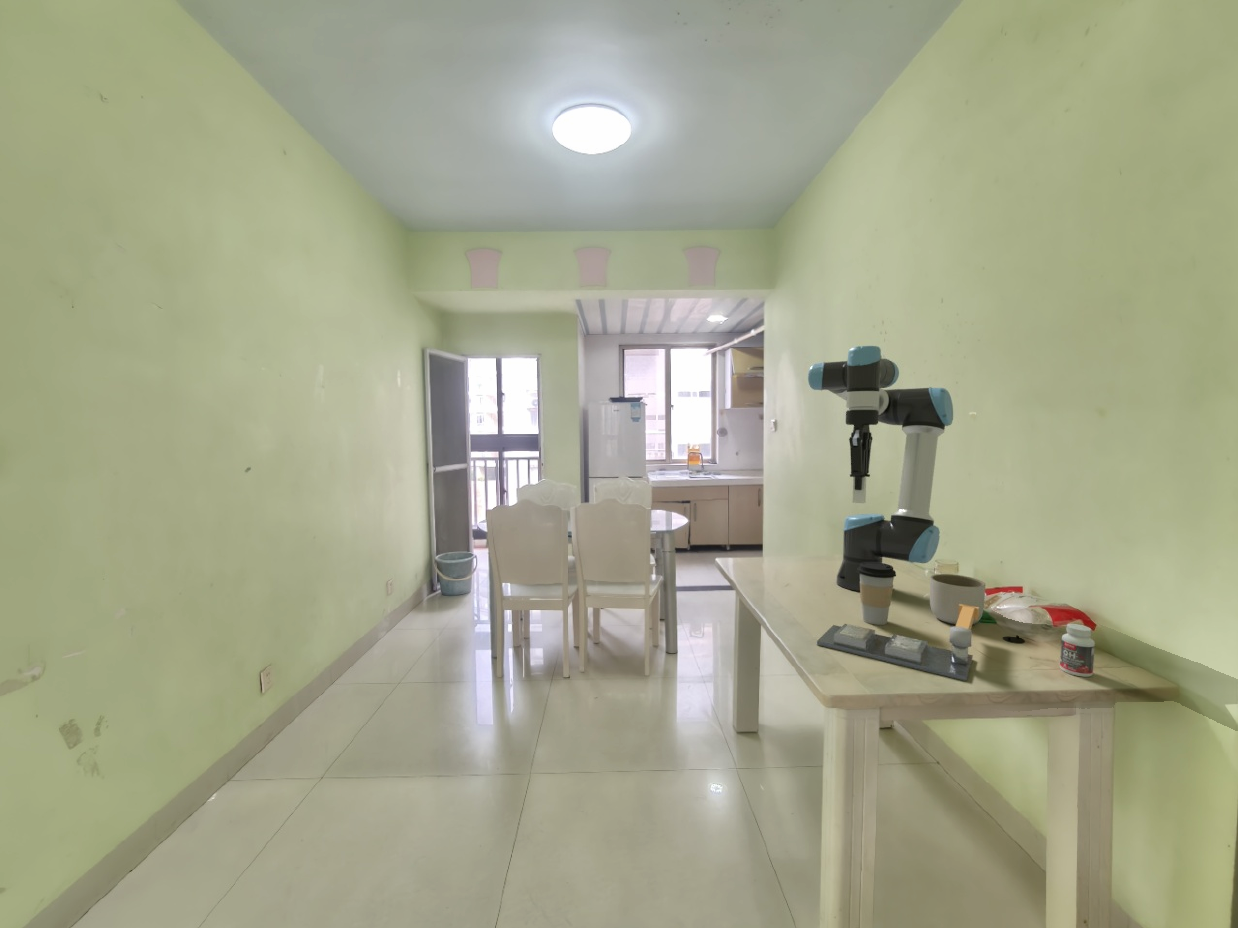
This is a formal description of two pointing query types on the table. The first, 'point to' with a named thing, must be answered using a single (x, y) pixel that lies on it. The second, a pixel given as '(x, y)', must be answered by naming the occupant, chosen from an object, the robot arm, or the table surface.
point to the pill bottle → (1077, 651)
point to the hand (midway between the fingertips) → (858, 502)
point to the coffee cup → (876, 591)
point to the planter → (955, 595)
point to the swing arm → (963, 626)
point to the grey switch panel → (899, 650)
